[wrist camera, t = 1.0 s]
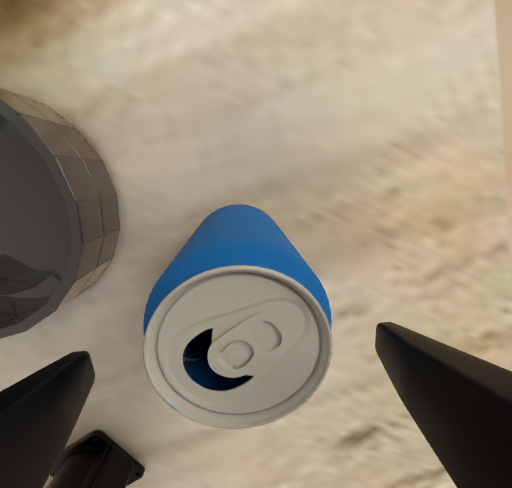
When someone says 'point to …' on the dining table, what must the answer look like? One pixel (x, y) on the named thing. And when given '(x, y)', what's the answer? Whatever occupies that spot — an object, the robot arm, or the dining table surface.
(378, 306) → the dining table surface
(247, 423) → the beverage can
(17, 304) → the dark grey bowl
